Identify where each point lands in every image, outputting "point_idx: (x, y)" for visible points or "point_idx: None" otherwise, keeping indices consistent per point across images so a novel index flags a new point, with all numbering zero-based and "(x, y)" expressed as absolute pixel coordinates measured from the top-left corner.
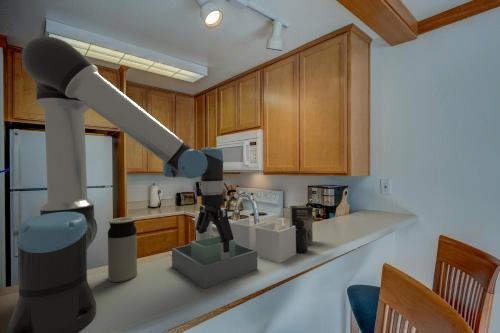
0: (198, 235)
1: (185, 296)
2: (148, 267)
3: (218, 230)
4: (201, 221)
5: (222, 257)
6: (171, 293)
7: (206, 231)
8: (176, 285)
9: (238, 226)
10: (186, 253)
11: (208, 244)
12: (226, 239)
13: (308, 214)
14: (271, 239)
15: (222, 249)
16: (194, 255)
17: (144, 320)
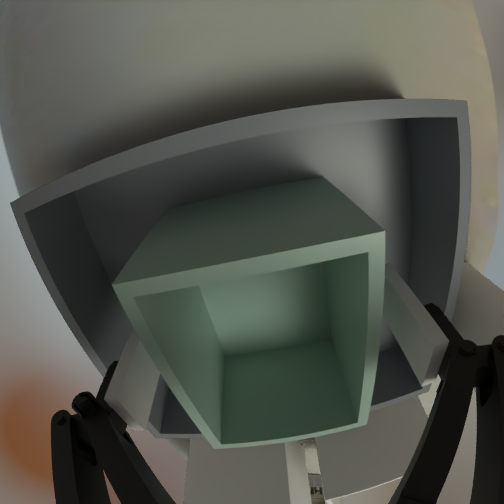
0: (502, 315)
1: (46, 101)
2: (435, 14)
3: (125, 472)
4: (490, 431)
5: (134, 333)
6: (88, 48)
7: (438, 387)
8: (145, 64)
9: (389, 472)
10: (431, 190)
11: (350, 337)
12: (54, 419)
13: None
14: (214, 485)
15: (120, 367)
16: (288, 205)
17: (5, 8)
